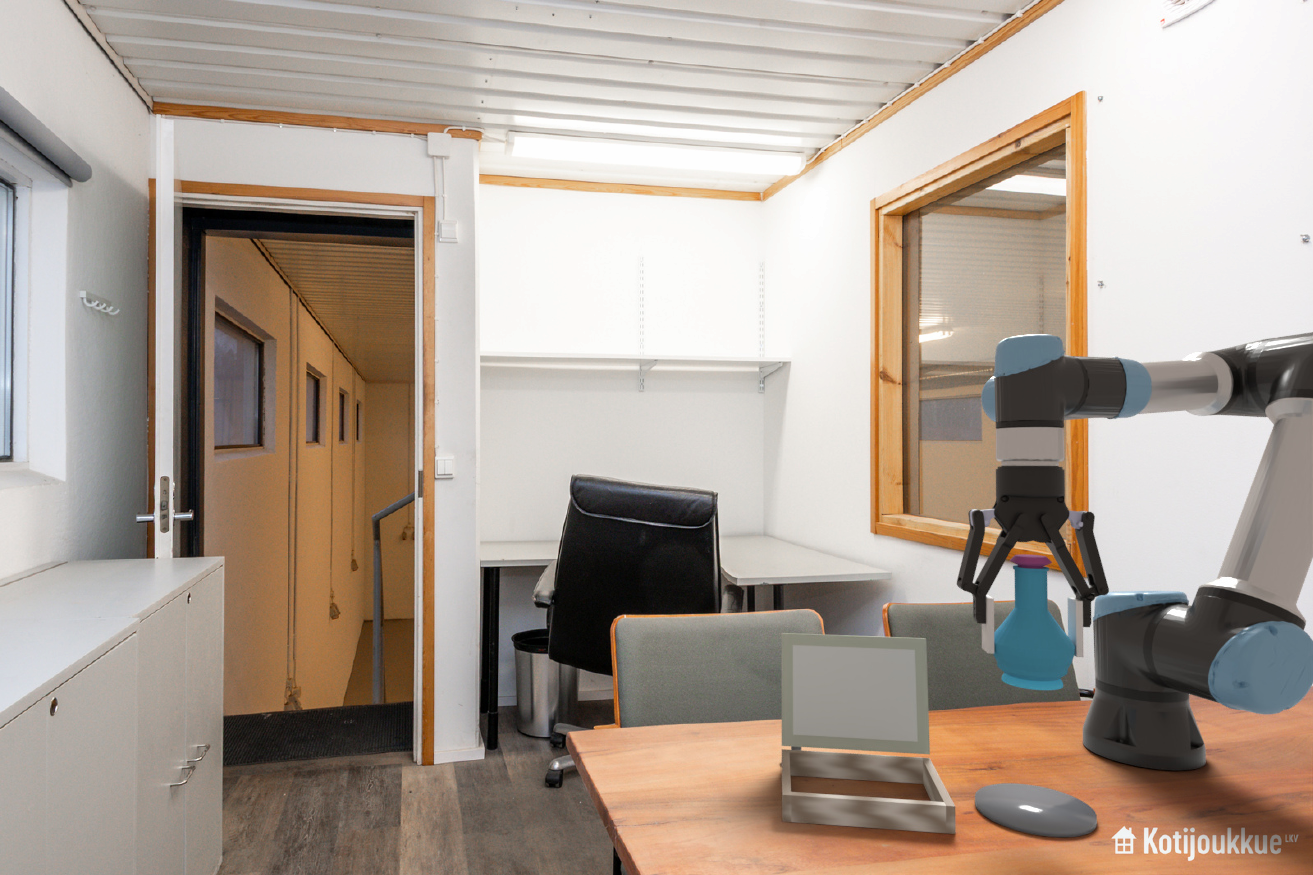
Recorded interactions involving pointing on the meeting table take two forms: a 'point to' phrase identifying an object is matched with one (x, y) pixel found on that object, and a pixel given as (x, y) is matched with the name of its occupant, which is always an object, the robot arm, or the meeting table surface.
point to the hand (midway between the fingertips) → (1031, 652)
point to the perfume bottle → (1032, 632)
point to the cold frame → (866, 809)
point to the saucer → (1035, 810)
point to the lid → (855, 693)
